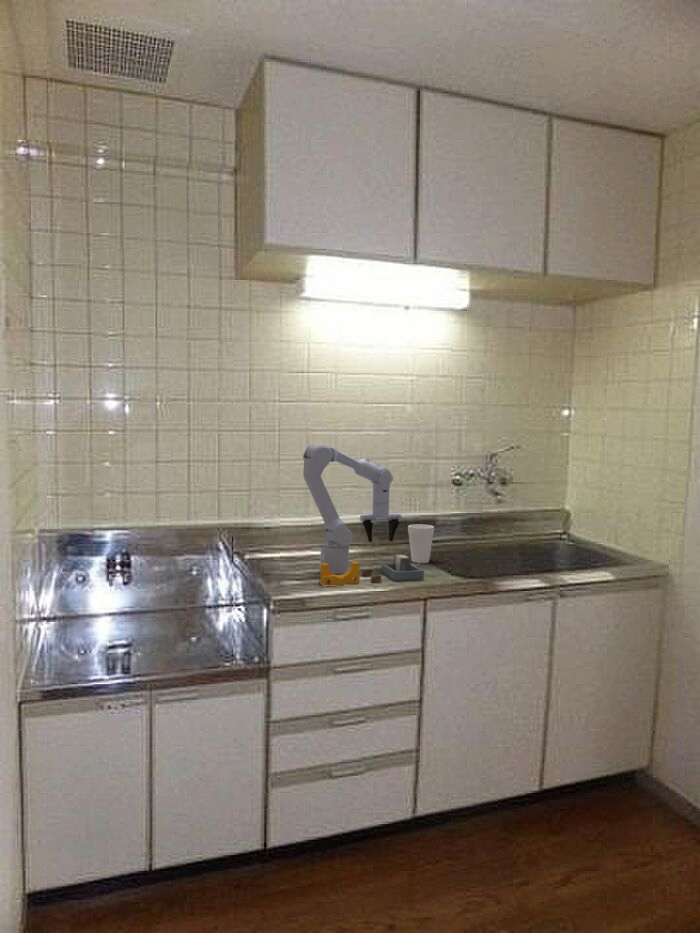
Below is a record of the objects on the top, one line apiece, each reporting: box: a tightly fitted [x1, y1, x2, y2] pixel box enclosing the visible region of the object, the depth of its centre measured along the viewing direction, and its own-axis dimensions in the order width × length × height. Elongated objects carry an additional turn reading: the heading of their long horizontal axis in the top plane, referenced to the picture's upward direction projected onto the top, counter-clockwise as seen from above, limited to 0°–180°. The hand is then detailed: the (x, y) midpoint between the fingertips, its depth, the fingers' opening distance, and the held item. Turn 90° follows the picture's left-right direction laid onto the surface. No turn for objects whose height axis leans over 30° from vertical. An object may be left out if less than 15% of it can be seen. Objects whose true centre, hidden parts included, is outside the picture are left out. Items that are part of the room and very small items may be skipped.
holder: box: [361, 568, 382, 584], centre depth 214 cm, size 3×11×2 cm, turn 16°
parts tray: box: [381, 562, 425, 582], centre depth 218 cm, size 10×13×3 cm
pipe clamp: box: [320, 561, 361, 586], centre depth 207 cm, size 12×4×6 cm, turn 107°
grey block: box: [393, 553, 411, 571], centre depth 218 cm, size 3×7×6 cm, turn 16°
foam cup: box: [407, 524, 435, 564], centre depth 242 cm, size 10×9×13 cm
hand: (380, 541), depth 230 cm, fingers open, 7 cm apart
